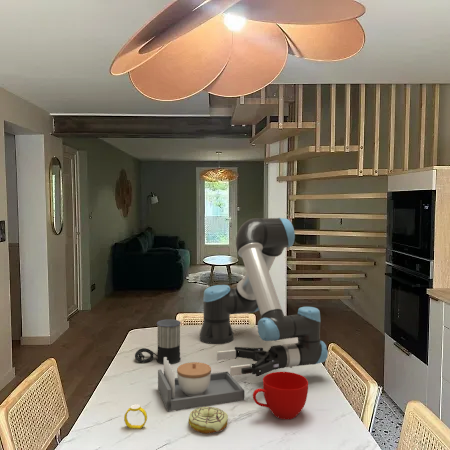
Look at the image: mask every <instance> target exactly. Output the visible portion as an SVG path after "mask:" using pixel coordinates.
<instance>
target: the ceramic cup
mask: <svg viewBox="0 0 450 450" xmlns="http://www.w3.org/2000/svg"><path fill="white" fill-rule="evenodd" d="M262 387H263V388H256V389H255V390H254V391H253V393H252V398H253V399H252V400H253V401H254V403H255V404H256V405H258V406H259V407H262V408H268V409H269V410H270V412H271V413H272V414H273V415H274V416H275V417H276V418H278V419H279V420H280V419H281V420H293V419H294V418H297V416H298V415H299V414H300V413H301V412H302V411H303V409H304V407H305V406H306V403H307V398H308V392H309V381H308V379H307V378H306V377H305V376H303V375H301V374H299V373H296V372H291V371H274V372H270V373H266V375H264V376H263V378H262ZM258 393H263V396H264V401H265V403H262V402H259V401H258V400H257V394H258Z"/></svg>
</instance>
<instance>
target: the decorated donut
mask: <svg viewBox="0 0 450 450" xmlns="http://www.w3.org/2000/svg"><path fill="white" fill-rule="evenodd" d="M228 420H229V415H228V413H227V412H226V411H225V410H222V409H221V408H218V407H213V406H202V407H196V408H193V410H192V411H190V412H189V416H188V424H189V426H190V427H191V429H193V431H195V432H197V433H201V434H205V435H209V434H213V433H218V432H221V431H223V430H225V429H226V428H227V426H228Z"/></svg>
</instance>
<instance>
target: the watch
mask: <svg viewBox="0 0 450 450" xmlns="http://www.w3.org/2000/svg"><path fill="white" fill-rule="evenodd" d="M130 411H131V412H138V411H139V412H140V413H142V415H143V416H144V422H143V423H141V425H138V424H137V425H136V424H131V423H130V422H129V420H128V413H129V412H130ZM123 418H124V419H123V421H124V423H125V425H126V426H127V428H128V429H133V430H134V429H135V430H136V429H137V430H138V429H140V430H141V429H142V428H144V427H145V425H146V422H147V420H148V415H147V412H146V410H145V409H144V408H143V407H141V404H138V403H136V404H132V405H130V407H129V408H128V409H127V411H125V413H124V417H123Z"/></svg>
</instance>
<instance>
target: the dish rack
mask: <svg viewBox="0 0 450 450" xmlns="http://www.w3.org/2000/svg"><path fill="white" fill-rule="evenodd" d="M173 369H174V368H173V366H172V364H169V361H168V360H167V357H164V364H163V370H162V369H160V368H159V369H157V389H158V392H159V395H160V397H161V399H162V402H163V404H164V407H165V409H166V411H167V412H175V411H181V410H188V409H197V408H200V407H210V406H215V405H220V404H227V403H228V404H229V403H234V402H240V401H245V397H246V396H245V391H246V390H245V389H244V388H243V387H242V385H240V384H239V383H238V381H237V380H236V379H235V378H234V376H231V375H230V372H229V371H222V372H211V379H210V384H209V386H208V388H207V389H206V391H204V393H203V394H202V395H200V396H187V395H186V394H185V393H184V392H183V391H182V390H181V388H180V386H179V383H178V377H176V371H175V370H173Z"/></svg>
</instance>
